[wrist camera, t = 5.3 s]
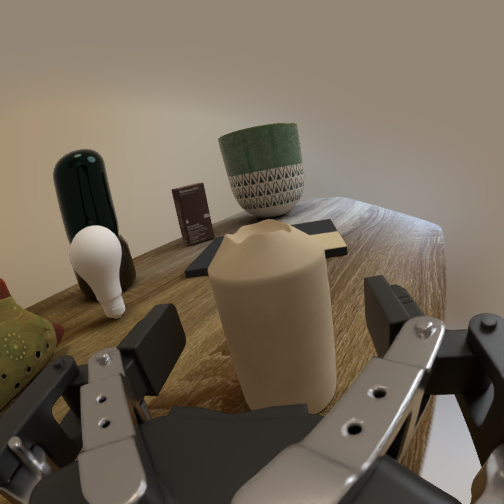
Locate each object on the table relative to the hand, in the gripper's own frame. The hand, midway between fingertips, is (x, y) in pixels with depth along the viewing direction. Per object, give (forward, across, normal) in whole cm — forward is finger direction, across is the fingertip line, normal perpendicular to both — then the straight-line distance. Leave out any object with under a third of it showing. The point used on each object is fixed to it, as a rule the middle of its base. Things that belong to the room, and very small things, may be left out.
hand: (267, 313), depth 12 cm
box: (+48, +20, +7) cm, 52 cm away
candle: (+3, 0, +7) cm, 8 cm away
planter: (+63, +5, +7) cm, 63 cm away
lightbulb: (+15, +20, +7) cm, 26 cm away
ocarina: (-1, +24, +7) cm, 25 cm away
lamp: (+25, +28, +7) cm, 38 cm away
